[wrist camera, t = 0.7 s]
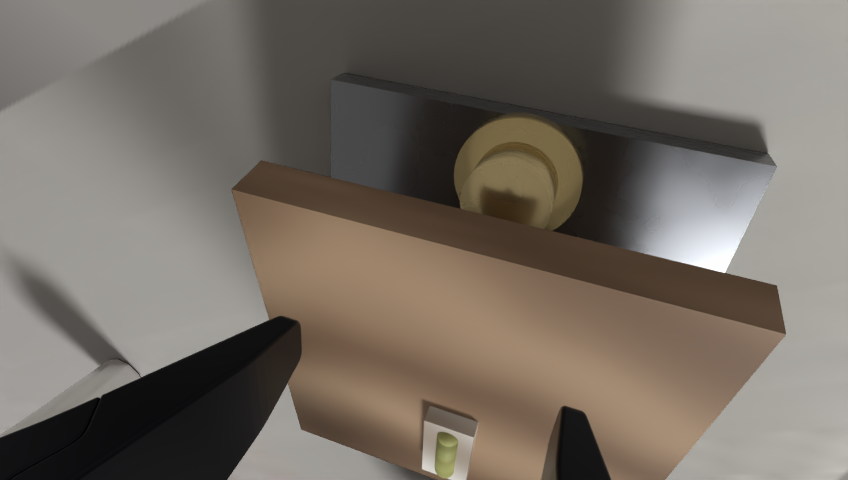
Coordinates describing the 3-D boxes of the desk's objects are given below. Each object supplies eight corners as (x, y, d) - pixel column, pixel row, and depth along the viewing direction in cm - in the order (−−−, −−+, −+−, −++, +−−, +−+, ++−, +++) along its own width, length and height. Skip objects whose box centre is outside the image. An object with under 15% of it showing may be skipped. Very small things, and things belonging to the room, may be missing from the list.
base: (627, 452, 26) (626, 534, 23) (341, 357, 30) (301, 415, 26) (772, 145, 18) (810, 200, 14) (344, 65, 21) (285, 91, 18)
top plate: (608, 500, 23) (600, 577, 21) (327, 401, 27) (295, 459, 24) (772, 263, 13) (792, 368, 11) (275, 146, 16) (211, 208, 14)
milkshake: (107, 334, 37) (-41, 447, 29) (161, 388, 38) (32, 511, 30) (83, 354, 39) (-60, 463, 31) (134, 404, 41) (8, 522, 32)
